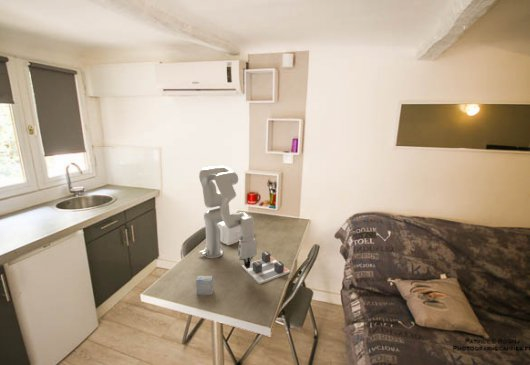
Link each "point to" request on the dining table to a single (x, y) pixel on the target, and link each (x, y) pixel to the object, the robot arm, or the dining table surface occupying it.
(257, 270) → the toggle
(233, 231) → the blocky voxel creature
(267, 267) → the panel
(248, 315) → the dining table surface
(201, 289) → the medicine box
